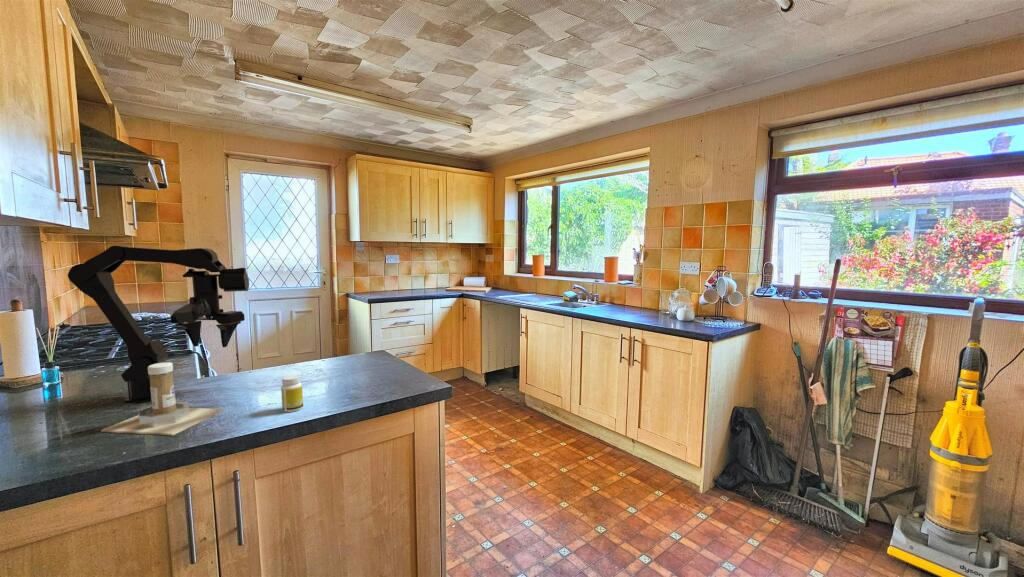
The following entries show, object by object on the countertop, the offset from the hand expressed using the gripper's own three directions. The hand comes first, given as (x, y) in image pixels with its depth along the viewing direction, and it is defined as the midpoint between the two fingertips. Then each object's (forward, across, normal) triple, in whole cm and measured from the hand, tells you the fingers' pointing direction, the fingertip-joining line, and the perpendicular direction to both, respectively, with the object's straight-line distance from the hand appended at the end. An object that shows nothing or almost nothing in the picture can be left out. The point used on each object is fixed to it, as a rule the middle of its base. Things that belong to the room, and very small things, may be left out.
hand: (210, 346), depth 121 cm
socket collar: (+13, +6, -20) cm, 25 cm away
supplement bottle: (+13, +32, -10) cm, 36 cm away
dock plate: (+13, +6, -20) cm, 25 cm away
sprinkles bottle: (+13, +6, -20) cm, 25 cm away
